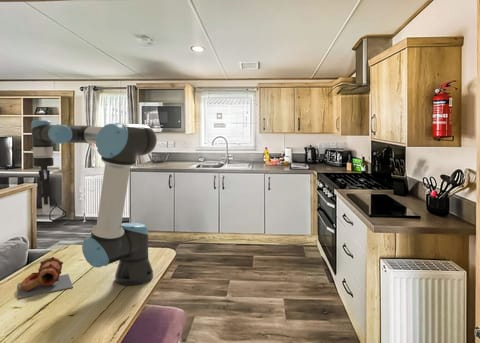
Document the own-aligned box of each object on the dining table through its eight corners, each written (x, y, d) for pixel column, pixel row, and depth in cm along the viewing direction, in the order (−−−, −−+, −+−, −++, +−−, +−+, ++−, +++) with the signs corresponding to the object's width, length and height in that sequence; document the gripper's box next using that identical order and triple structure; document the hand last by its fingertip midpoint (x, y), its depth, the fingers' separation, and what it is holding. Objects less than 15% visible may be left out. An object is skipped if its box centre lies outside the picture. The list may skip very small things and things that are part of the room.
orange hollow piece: (60, 251, 148) (55, 265, 134) (67, 268, 150) (64, 283, 136) (22, 266, 144) (14, 282, 130) (31, 283, 146) (23, 300, 132)
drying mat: (73, 288, 137) (72, 286, 137) (18, 299, 127) (18, 297, 127) (68, 275, 150) (68, 273, 149) (18, 284, 140) (18, 283, 140)
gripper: (32, 156, 153) (35, 209, 155) (33, 158, 142) (37, 215, 144) (51, 156, 157) (54, 208, 159) (54, 157, 146) (57, 213, 148)
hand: (46, 211), depth 152 cm, fingers closed
